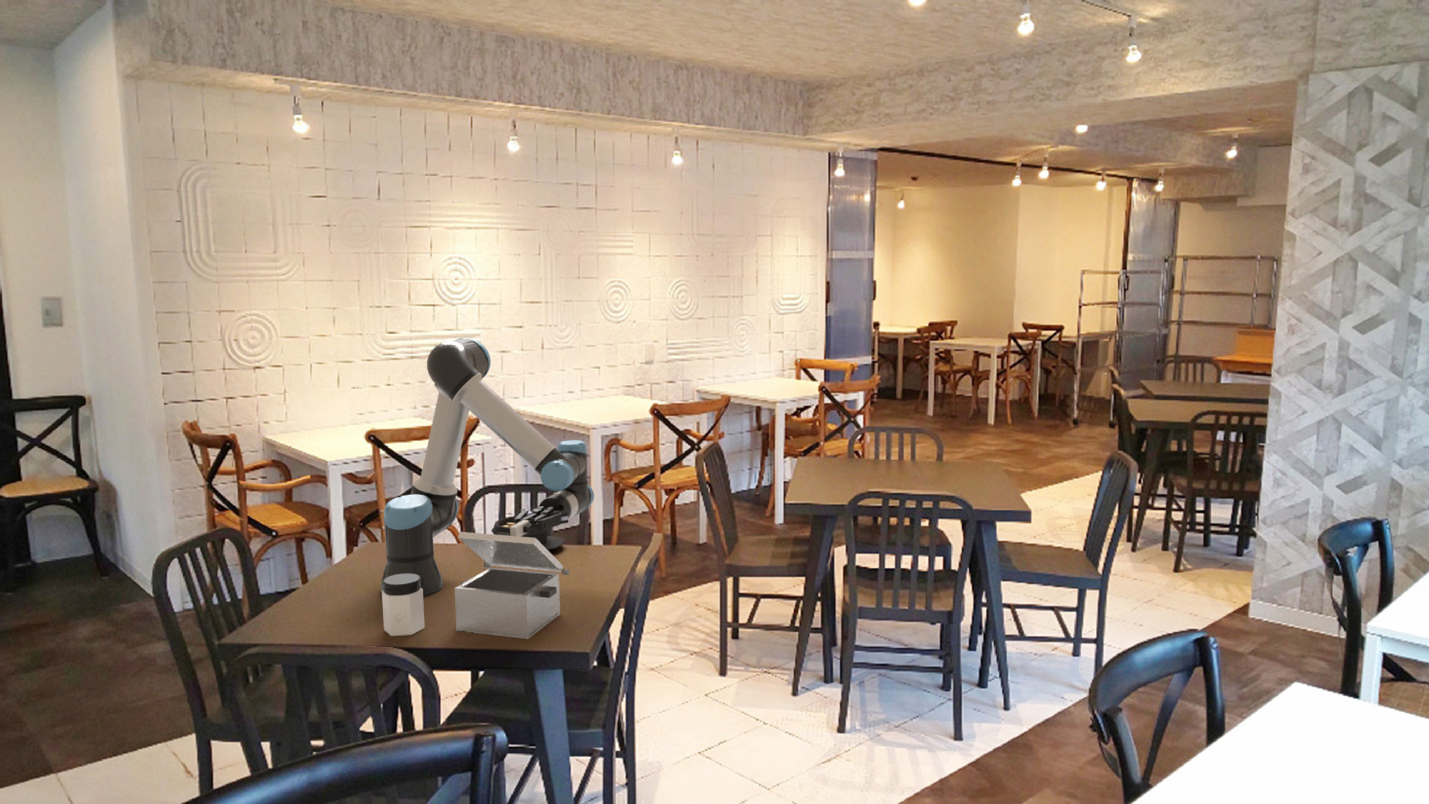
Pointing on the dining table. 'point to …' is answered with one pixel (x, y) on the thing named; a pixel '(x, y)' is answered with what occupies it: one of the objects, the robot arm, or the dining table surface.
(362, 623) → the dining table surface
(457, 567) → the dining table surface
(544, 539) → the casserole
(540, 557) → the lid
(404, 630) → the jar
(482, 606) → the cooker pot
